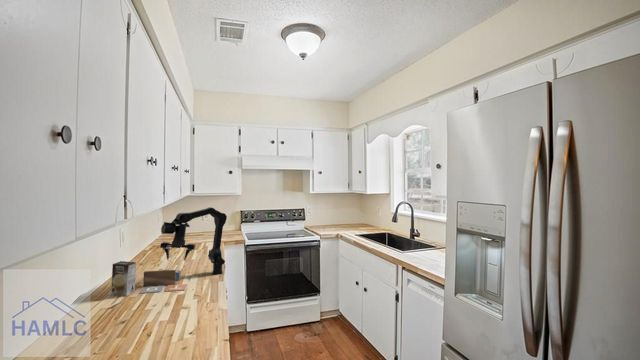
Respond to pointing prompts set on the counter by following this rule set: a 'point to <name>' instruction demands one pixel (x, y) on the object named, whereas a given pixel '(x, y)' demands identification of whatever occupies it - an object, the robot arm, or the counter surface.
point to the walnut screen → (159, 278)
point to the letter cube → (178, 275)
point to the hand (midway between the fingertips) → (176, 260)
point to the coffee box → (123, 278)
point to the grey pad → (151, 289)
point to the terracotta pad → (176, 287)
